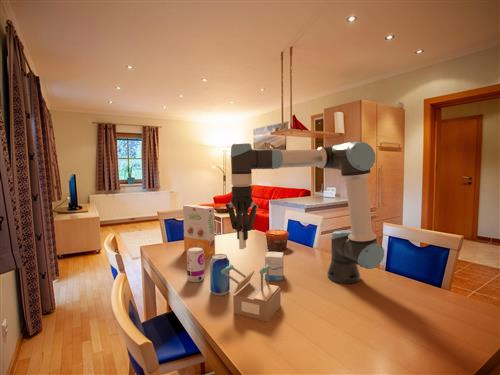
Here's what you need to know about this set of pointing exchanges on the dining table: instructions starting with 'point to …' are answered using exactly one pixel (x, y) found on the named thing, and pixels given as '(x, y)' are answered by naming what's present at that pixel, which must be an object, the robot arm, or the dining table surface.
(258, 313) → the carton
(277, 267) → the ink box
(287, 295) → the dining table surface
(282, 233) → the food container
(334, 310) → the dining table surface
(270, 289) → the near flap
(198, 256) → the supplement can
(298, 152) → the robot arm
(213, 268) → the beer can
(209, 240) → the cereal box
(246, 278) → the far flap
